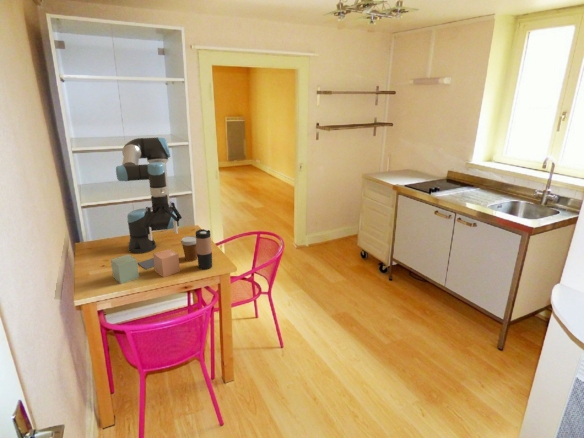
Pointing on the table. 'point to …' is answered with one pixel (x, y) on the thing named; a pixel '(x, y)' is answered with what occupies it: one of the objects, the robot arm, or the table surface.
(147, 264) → the coaster
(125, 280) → the rounded sage cube
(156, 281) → the table surface
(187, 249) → the disposable coffee cup
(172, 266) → the dusty pink cube
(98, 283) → the table surface
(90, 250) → the table surface
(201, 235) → the travel mug
